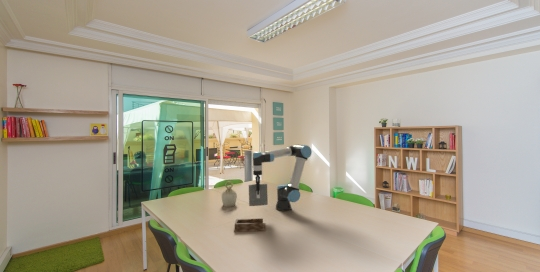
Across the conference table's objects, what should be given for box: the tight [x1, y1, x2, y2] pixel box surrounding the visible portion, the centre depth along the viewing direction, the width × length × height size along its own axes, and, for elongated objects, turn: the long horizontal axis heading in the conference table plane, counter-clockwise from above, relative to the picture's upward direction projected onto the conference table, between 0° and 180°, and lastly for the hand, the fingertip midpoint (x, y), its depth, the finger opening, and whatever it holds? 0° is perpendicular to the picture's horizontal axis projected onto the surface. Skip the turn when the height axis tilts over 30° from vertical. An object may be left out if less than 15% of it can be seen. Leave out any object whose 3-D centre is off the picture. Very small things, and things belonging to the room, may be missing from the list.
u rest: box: [233, 218, 267, 233], centre depth 182 cm, size 24×12×6 cm, turn 92°
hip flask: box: [248, 181, 268, 207], centre depth 199 cm, size 16×4×20 cm, turn 99°
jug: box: [221, 180, 238, 208], centre depth 241 cm, size 15×16×25 cm
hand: (258, 197), depth 199 cm, fingers closed on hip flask, 4 cm apart
